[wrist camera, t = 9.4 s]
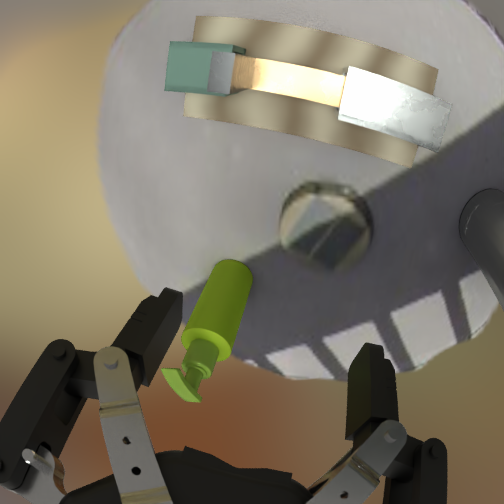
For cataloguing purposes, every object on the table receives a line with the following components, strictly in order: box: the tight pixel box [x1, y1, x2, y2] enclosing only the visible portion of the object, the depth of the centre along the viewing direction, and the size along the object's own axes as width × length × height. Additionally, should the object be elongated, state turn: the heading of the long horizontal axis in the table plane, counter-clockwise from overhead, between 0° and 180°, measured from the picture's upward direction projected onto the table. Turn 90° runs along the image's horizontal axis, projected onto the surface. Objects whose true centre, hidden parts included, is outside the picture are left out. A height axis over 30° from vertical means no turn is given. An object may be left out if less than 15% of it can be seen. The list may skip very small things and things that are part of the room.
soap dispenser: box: [161, 260, 253, 402], centre depth 36 cm, size 6×7×20 cm
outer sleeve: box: [334, 66, 452, 153], centre depth 25 cm, size 10×5×6 cm, turn 81°
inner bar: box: [207, 51, 346, 107], centre depth 22 cm, size 18×3×10 cm, turn 81°
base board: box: [183, 16, 438, 168], centre depth 28 cm, size 26×12×1 cm, turn 81°
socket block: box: [164, 41, 246, 97], centre depth 26 cm, size 6×5×6 cm
